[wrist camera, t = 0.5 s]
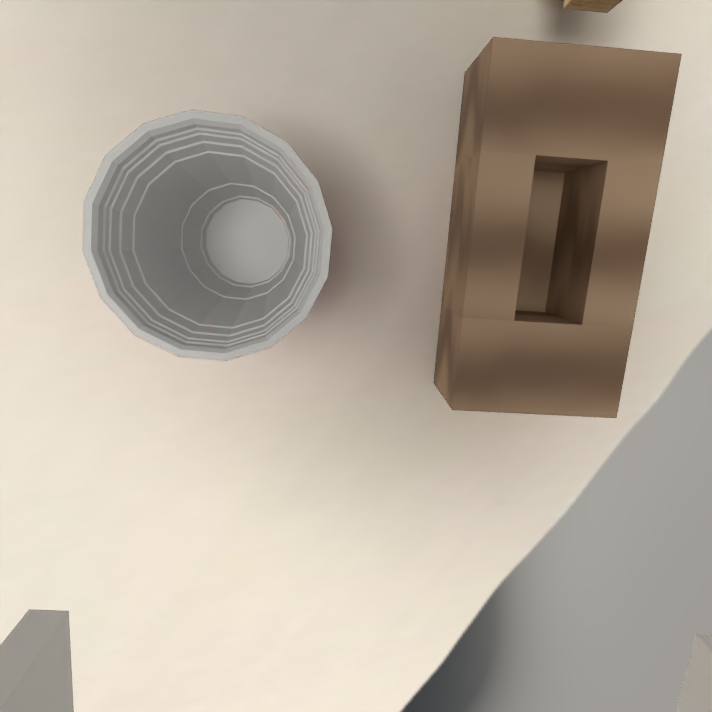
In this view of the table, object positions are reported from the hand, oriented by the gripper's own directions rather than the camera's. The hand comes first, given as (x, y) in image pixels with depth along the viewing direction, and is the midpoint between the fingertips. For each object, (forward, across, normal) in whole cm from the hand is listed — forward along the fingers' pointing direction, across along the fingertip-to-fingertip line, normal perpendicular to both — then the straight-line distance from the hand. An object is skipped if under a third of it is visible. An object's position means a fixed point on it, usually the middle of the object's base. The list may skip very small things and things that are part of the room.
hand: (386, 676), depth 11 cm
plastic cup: (+27, -7, +8) cm, 29 cm away
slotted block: (+26, +11, +9) cm, 30 cm away
